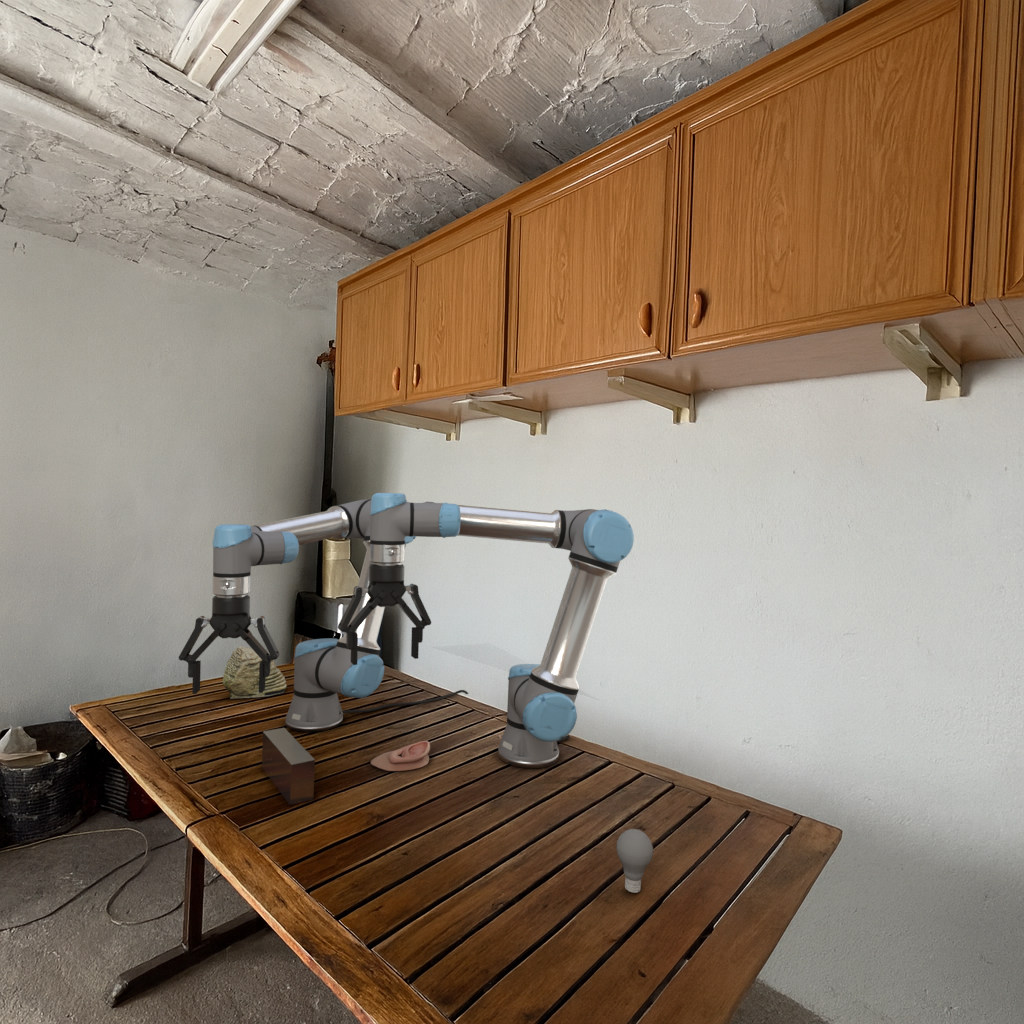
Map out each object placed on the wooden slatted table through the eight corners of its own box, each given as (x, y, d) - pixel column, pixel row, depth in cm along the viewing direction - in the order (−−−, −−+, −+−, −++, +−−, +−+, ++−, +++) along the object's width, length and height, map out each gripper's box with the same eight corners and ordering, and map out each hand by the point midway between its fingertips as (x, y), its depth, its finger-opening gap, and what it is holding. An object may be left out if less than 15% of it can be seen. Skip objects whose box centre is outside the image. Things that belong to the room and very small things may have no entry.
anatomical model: (365, 751, 148) (384, 733, 160) (364, 767, 148) (384, 749, 160) (419, 758, 146) (435, 740, 157) (418, 775, 146) (434, 756, 157)
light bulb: (610, 879, 108) (613, 822, 108) (644, 879, 109) (647, 822, 109) (619, 902, 102) (622, 840, 102) (655, 901, 103) (658, 840, 103)
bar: (261, 767, 147) (262, 731, 147) (283, 762, 150) (284, 727, 149) (289, 805, 130) (291, 764, 129) (313, 799, 133) (314, 759, 132)
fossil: (218, 695, 195) (220, 647, 195) (278, 685, 208) (279, 640, 207) (228, 703, 189) (230, 653, 188) (289, 692, 201) (290, 645, 201)
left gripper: (163, 597, 132) (161, 698, 133) (288, 598, 136) (285, 695, 137) (176, 591, 140) (174, 687, 140) (294, 592, 144) (291, 685, 145)
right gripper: (332, 567, 129) (330, 670, 129) (446, 563, 141) (444, 658, 141) (325, 563, 136) (323, 661, 136) (434, 560, 147) (432, 651, 148)
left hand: (229, 691), depth 139 cm, fingers open, 13 cm apart
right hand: (385, 660), depth 139 cm, fingers open, 13 cm apart
